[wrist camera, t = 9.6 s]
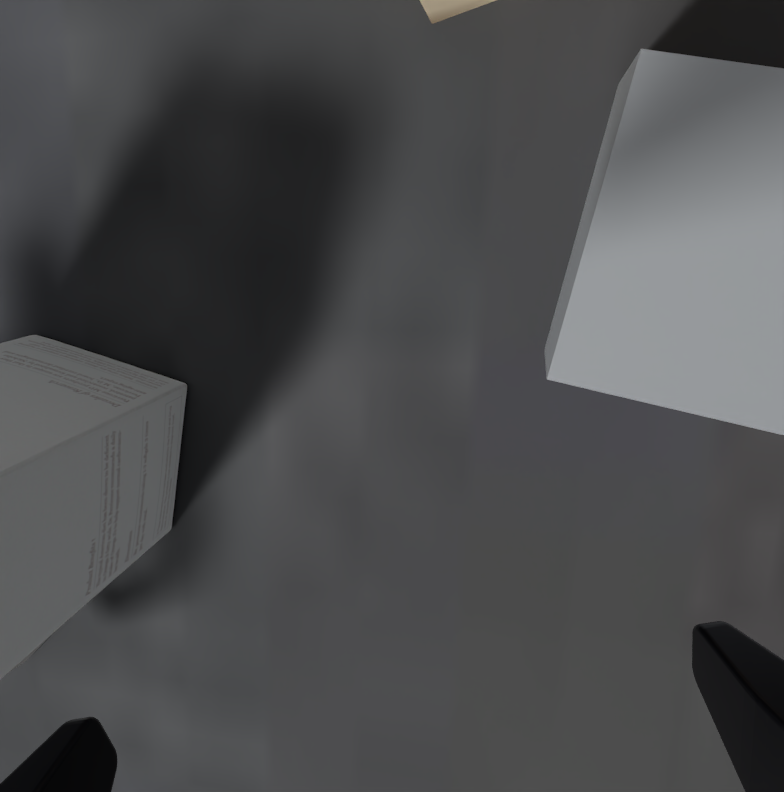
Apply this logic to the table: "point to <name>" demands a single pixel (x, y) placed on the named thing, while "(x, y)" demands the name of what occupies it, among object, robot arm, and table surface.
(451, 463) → the table surface
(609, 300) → the slate block
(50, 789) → the robot arm
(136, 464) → the supplement box
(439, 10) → the beech block
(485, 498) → the table surface
